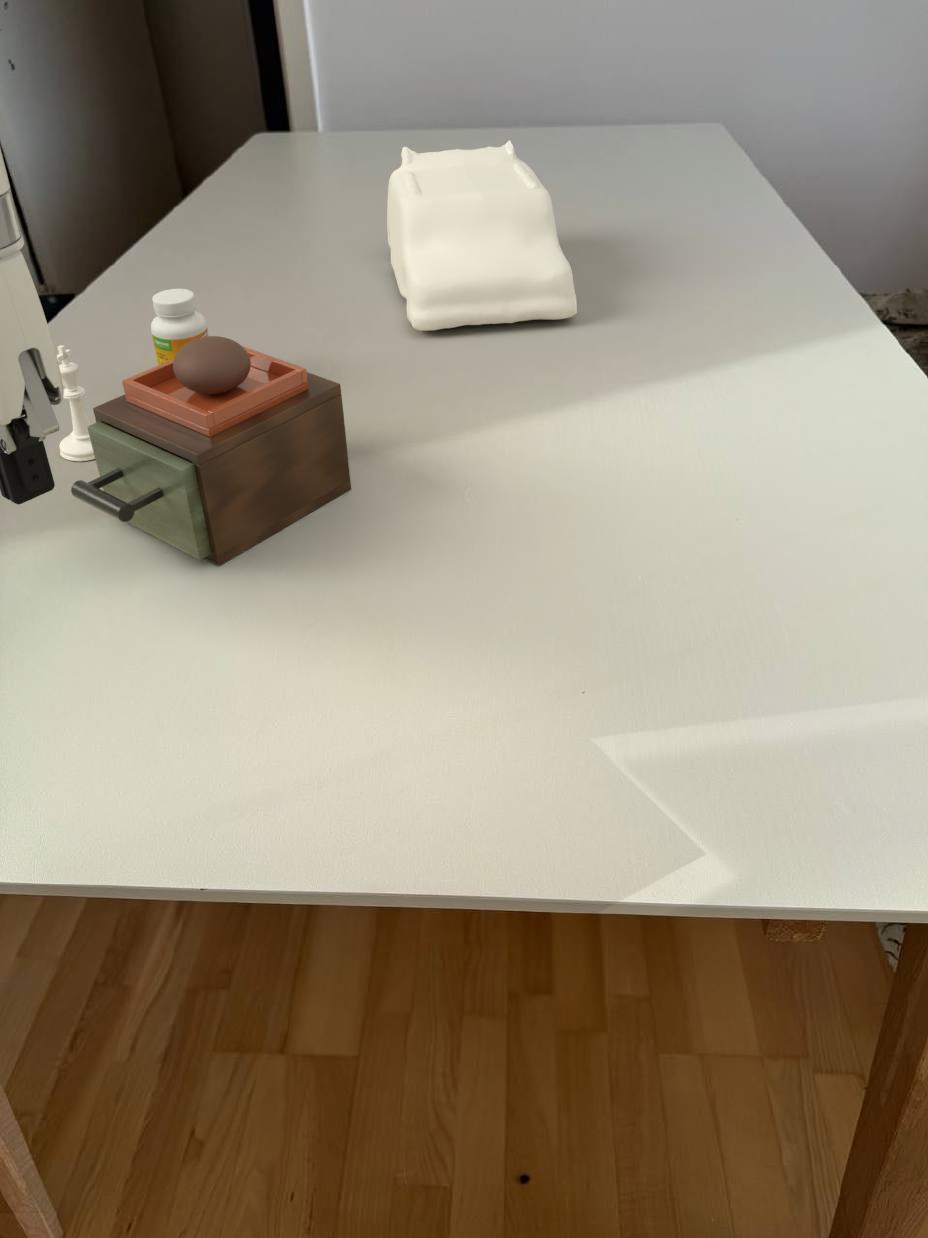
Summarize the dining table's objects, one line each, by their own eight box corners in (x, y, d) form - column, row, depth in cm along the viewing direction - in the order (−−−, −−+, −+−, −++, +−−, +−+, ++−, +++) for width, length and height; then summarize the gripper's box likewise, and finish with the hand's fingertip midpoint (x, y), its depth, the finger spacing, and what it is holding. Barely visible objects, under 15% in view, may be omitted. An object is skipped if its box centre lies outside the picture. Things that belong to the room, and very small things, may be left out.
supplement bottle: (155, 399, 109) (135, 304, 104) (175, 376, 114) (157, 284, 108) (206, 402, 109) (189, 307, 103) (224, 378, 113) (209, 286, 107)
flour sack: (528, 240, 145) (529, 132, 137) (582, 326, 121) (586, 202, 113) (385, 251, 143) (377, 142, 135) (410, 341, 119) (403, 215, 111)
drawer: (156, 585, 82) (134, 493, 77) (65, 535, 88) (39, 447, 83) (325, 488, 93) (315, 402, 88) (234, 449, 99) (220, 367, 94)
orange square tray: (210, 437, 81) (206, 415, 80) (126, 401, 87) (121, 380, 86) (308, 389, 88) (306, 368, 87) (225, 358, 93) (221, 338, 92)
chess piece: (48, 456, 100) (19, 353, 94) (82, 432, 104) (56, 332, 98) (92, 465, 99) (65, 361, 93) (125, 440, 102) (101, 339, 96)
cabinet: (219, 566, 85) (197, 454, 79) (119, 514, 92) (92, 407, 86) (351, 489, 94) (340, 383, 88) (251, 446, 101) (235, 345, 95)
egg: (265, 393, 86) (258, 344, 83) (193, 412, 83) (183, 362, 81) (237, 366, 90) (229, 319, 88) (167, 384, 88) (158, 336, 85)
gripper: (-167, 220, 68) (-76, 483, 78) (-39, 265, 60) (43, 550, 71) (-54, 193, 72) (17, 445, 83) (78, 232, 65) (139, 504, 75)
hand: (29, 493), depth 77 cm, fingers closed
